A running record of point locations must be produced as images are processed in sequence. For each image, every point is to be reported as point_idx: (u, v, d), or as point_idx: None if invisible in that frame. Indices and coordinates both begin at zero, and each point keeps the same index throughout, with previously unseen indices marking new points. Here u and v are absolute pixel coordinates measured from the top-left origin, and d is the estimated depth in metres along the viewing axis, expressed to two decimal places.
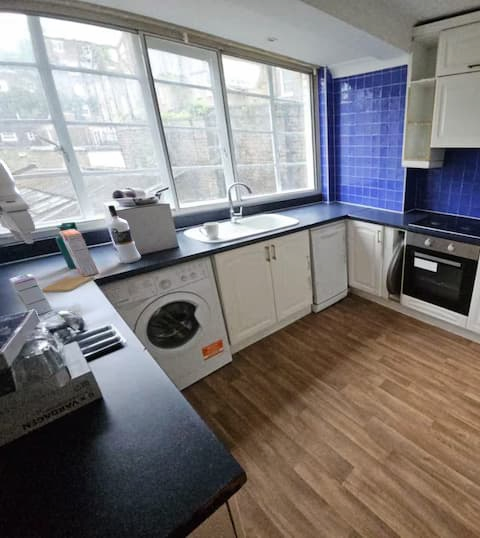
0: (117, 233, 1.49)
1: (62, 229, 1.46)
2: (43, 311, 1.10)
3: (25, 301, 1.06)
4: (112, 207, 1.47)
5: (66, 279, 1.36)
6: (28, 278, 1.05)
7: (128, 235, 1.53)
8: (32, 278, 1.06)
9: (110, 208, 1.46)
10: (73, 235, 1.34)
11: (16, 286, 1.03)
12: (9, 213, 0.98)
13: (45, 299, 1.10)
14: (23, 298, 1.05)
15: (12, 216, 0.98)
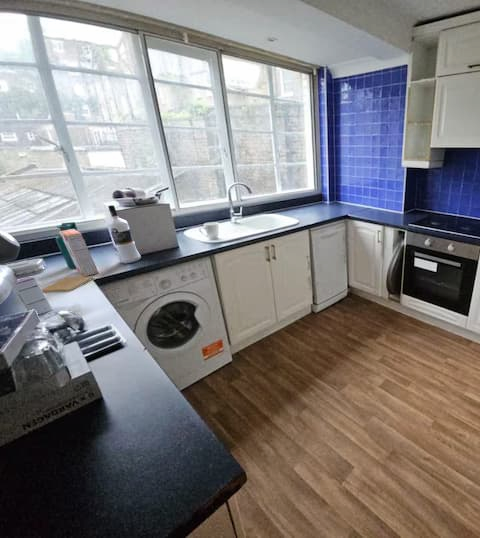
0: (117, 233, 1.49)
1: (62, 229, 1.46)
2: (43, 311, 1.10)
3: (25, 301, 1.06)
4: (112, 207, 1.47)
5: (66, 279, 1.36)
6: (28, 278, 1.05)
7: (128, 235, 1.53)
8: (32, 278, 1.06)
9: (110, 208, 1.46)
10: (73, 235, 1.34)
11: (16, 286, 1.03)
12: None
13: (45, 299, 1.10)
14: (23, 298, 1.05)
15: None
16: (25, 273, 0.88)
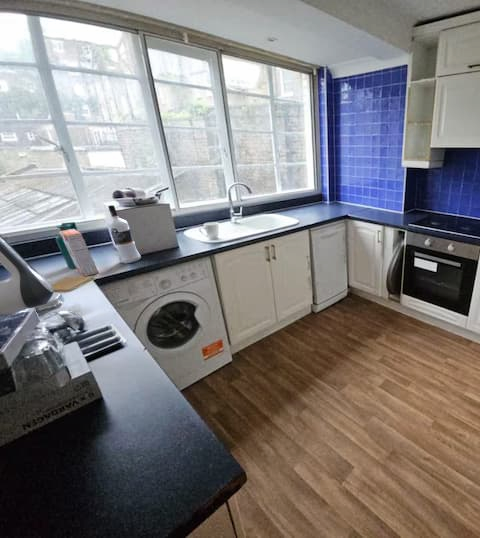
0: (117, 233, 1.49)
1: (62, 229, 1.46)
2: None
3: None
4: (112, 207, 1.47)
5: (66, 279, 1.36)
6: None
7: (128, 235, 1.53)
8: None
9: (110, 208, 1.46)
10: (73, 235, 1.34)
11: None
12: None
13: None
14: None
15: None
16: (45, 309, 0.95)
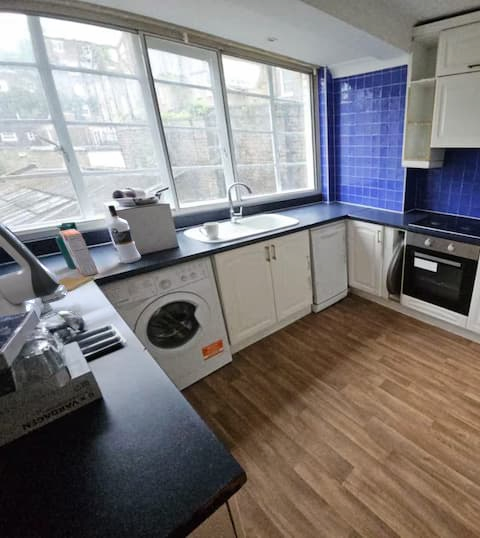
0: (117, 233, 1.49)
1: (62, 229, 1.46)
2: (43, 311, 1.10)
3: None
4: (112, 207, 1.47)
5: (66, 279, 1.36)
6: None
7: (128, 235, 1.53)
8: None
9: (110, 208, 1.46)
10: (73, 235, 1.34)
11: None
12: None
13: None
14: None
15: None
16: (50, 299, 1.03)
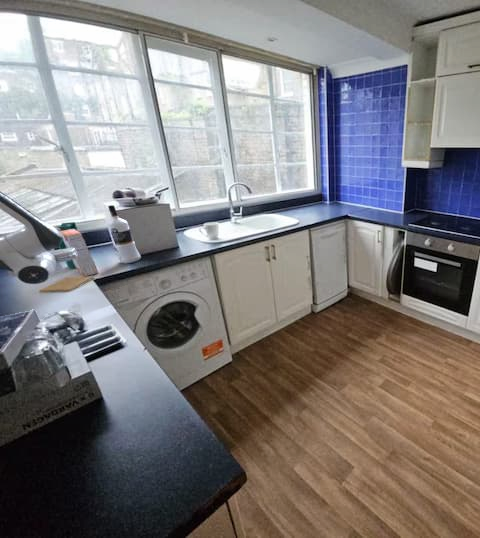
0: (117, 233, 1.49)
1: (62, 229, 1.46)
2: (56, 271, 1.23)
3: None
4: (112, 207, 1.47)
5: (66, 279, 1.36)
6: None
7: (128, 235, 1.53)
8: None
9: (110, 208, 1.46)
10: (73, 235, 1.34)
11: None
12: None
13: None
14: None
15: None
16: (63, 258, 1.15)
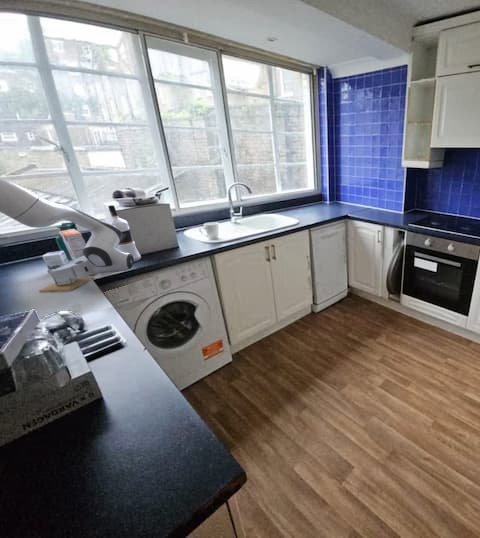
0: None
1: (62, 229, 1.46)
2: (75, 279, 1.34)
3: None
4: (112, 207, 1.47)
5: None
6: (62, 251, 1.29)
7: (128, 235, 1.53)
8: (63, 252, 1.30)
9: (110, 208, 1.46)
10: (73, 235, 1.34)
11: (61, 257, 1.26)
12: (71, 267, 1.22)
13: None
14: None
15: (67, 268, 1.21)
16: None
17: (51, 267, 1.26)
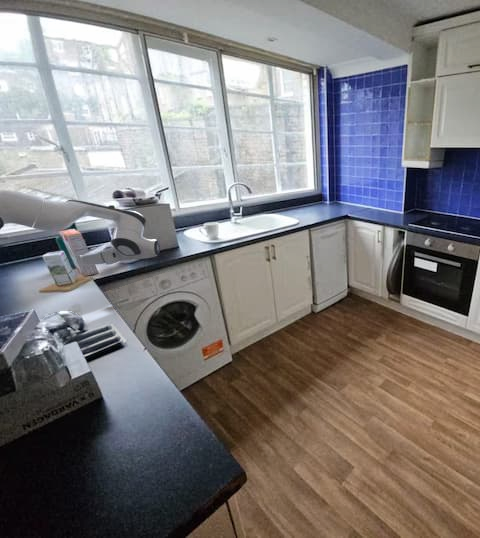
0: None
1: None
2: (75, 279, 1.34)
3: (67, 270, 1.29)
4: (112, 207, 1.47)
5: None
6: (62, 251, 1.29)
7: None
8: (63, 252, 1.30)
9: None
10: (73, 235, 1.34)
11: (61, 257, 1.26)
12: (99, 253, 1.21)
13: (72, 270, 1.33)
14: (66, 268, 1.28)
15: (95, 254, 1.20)
16: None
17: (51, 267, 1.26)
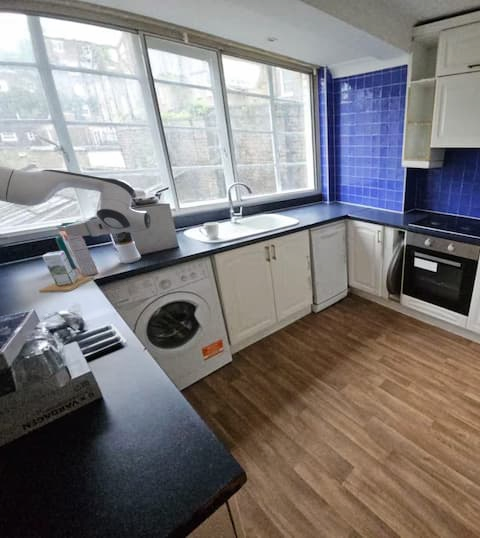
0: (117, 233, 1.49)
1: None
2: (75, 279, 1.34)
3: (67, 270, 1.29)
4: None
5: None
6: (62, 251, 1.29)
7: (128, 235, 1.53)
8: (63, 252, 1.30)
9: None
10: None
11: (61, 257, 1.26)
12: (84, 223, 1.12)
13: (72, 270, 1.33)
14: (66, 268, 1.28)
15: (80, 224, 1.11)
16: None
17: (51, 267, 1.26)
